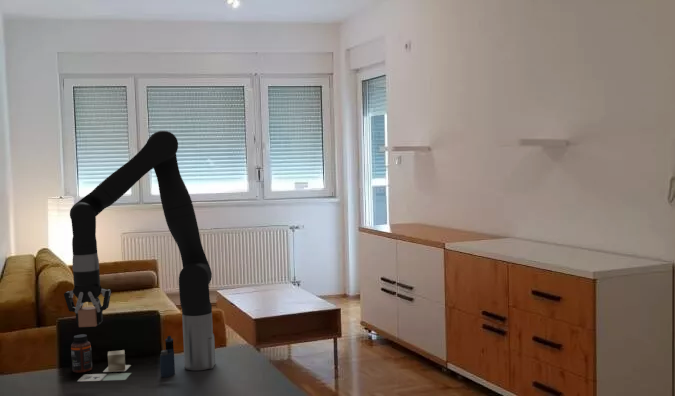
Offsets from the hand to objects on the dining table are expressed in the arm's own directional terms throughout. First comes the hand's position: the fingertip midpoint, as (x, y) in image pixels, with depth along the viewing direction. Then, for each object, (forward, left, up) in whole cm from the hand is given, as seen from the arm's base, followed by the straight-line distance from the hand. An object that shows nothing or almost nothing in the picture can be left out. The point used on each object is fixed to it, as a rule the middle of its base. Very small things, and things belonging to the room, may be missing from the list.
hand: (89, 324), depth 231 cm
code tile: (0, 0, -17) cm, 17 cm away
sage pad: (-7, 0, -17) cm, 18 cm away
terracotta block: (0, 0, 0) cm, 0 cm away
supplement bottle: (+6, -9, -17) cm, 20 cm away
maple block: (-5, -9, -16) cm, 19 cm away
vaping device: (-23, 0, -17) cm, 29 cm away
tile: (-5, -9, -17) cm, 20 cm away
